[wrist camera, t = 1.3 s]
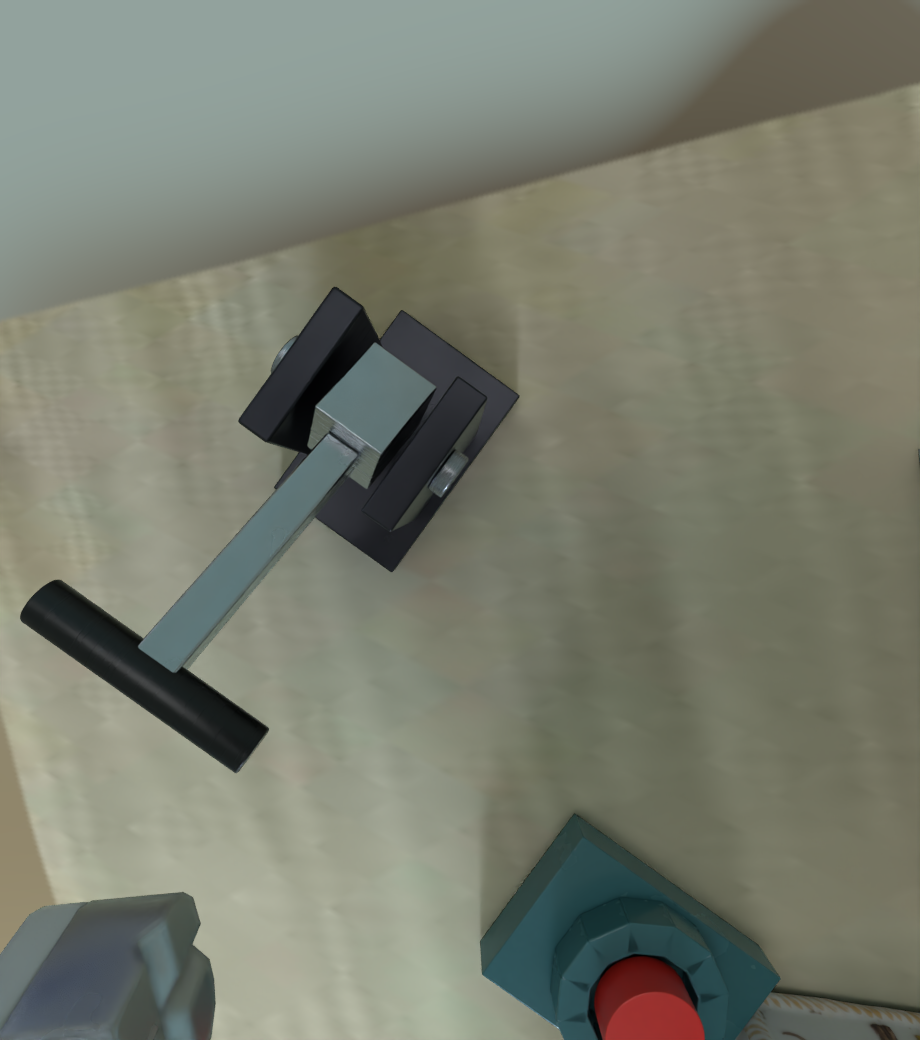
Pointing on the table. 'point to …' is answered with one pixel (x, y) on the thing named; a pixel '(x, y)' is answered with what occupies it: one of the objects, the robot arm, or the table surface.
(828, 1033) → the decorative jar
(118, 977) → the robot arm
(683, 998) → the button
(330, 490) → the lever
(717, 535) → the table surface
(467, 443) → the bracket
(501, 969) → the button block
